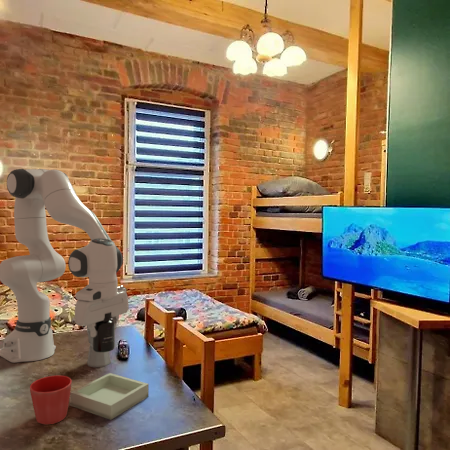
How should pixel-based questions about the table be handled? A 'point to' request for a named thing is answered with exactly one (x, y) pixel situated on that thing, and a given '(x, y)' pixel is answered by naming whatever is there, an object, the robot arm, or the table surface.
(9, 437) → the table surface
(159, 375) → the table surface
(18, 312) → the robot arm
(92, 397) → the tray
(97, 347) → the supplement bottle
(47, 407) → the flower pot
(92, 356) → the coffee maker
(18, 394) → the table surface
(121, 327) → the table surface
